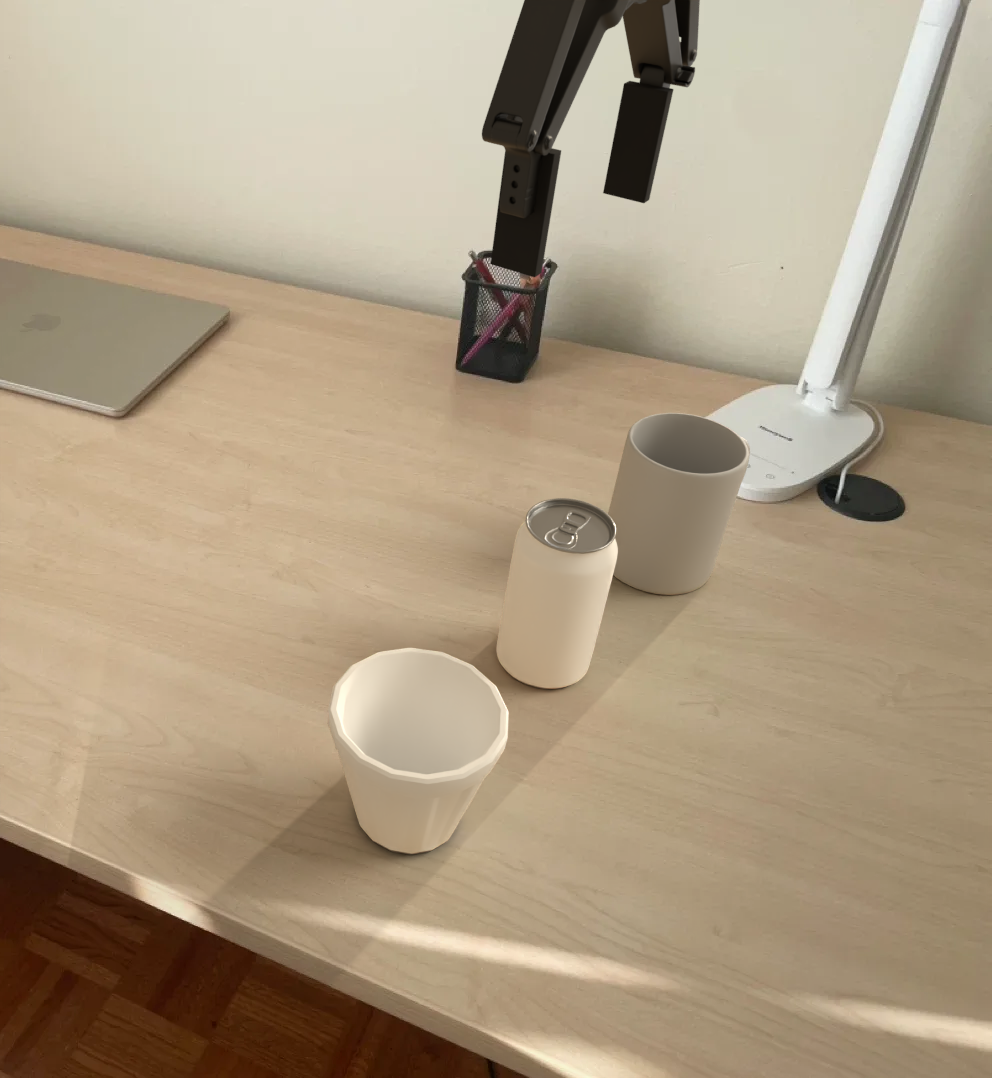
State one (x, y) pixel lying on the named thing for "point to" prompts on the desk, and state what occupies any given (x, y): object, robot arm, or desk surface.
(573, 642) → the can
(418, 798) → the cup
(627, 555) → the mug
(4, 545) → the desk surface
